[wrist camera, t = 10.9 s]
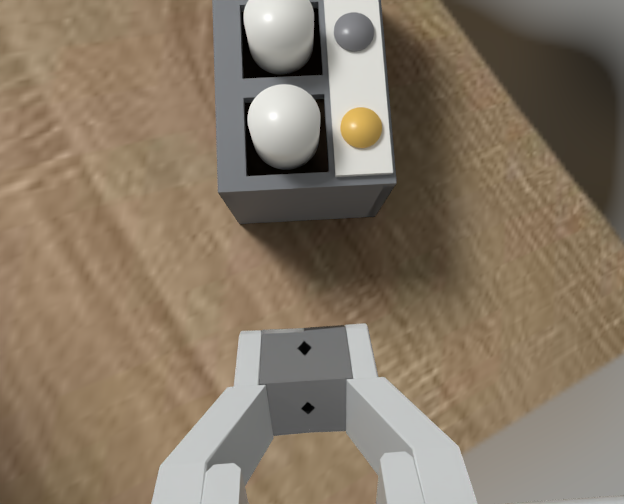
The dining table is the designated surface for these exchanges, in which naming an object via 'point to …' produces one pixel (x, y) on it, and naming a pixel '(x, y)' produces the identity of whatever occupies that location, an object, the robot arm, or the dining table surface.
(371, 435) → the robot arm
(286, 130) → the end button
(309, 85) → the button console
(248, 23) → the middle button
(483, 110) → the dining table surface
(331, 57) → the pattern card
